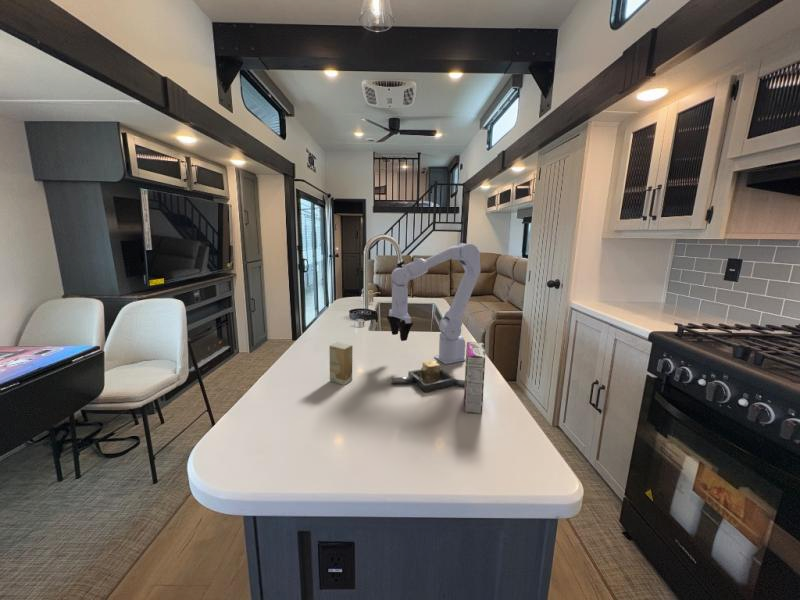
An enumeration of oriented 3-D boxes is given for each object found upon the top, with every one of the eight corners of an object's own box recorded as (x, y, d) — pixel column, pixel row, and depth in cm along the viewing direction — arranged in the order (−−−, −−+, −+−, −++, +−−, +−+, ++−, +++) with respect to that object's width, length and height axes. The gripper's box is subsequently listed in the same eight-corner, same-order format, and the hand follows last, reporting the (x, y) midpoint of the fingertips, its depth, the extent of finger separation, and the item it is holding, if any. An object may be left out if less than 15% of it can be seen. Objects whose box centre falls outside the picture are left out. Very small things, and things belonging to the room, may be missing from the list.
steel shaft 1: (412, 381, 104) (412, 375, 103) (413, 384, 102) (413, 378, 101) (391, 382, 103) (391, 376, 103) (391, 385, 101) (391, 379, 101)
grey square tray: (436, 372, 110) (436, 365, 110) (455, 386, 101) (455, 378, 100) (408, 378, 106) (408, 371, 105) (424, 393, 96) (425, 385, 96)
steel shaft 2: (453, 386, 101) (453, 380, 100) (453, 383, 102) (454, 378, 102) (476, 389, 99) (476, 383, 98) (476, 386, 101) (476, 380, 100)
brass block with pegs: (435, 376, 106) (436, 359, 105) (442, 381, 103) (443, 364, 101) (418, 380, 103) (419, 362, 102) (425, 385, 100) (425, 367, 99)
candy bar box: (463, 392, 97) (466, 341, 93) (480, 394, 96) (484, 342, 92) (463, 412, 86) (466, 355, 83) (482, 415, 85) (486, 356, 82)
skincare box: (329, 381, 103) (328, 345, 101) (337, 376, 107) (336, 341, 105) (345, 385, 100) (344, 348, 98) (353, 380, 104) (352, 344, 102)
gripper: (381, 298, 120) (381, 333, 123) (398, 306, 107) (397, 344, 110) (398, 297, 123) (398, 330, 126) (416, 304, 110) (415, 342, 113)
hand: (399, 337), depth 118 cm, fingers open, 7 cm apart
